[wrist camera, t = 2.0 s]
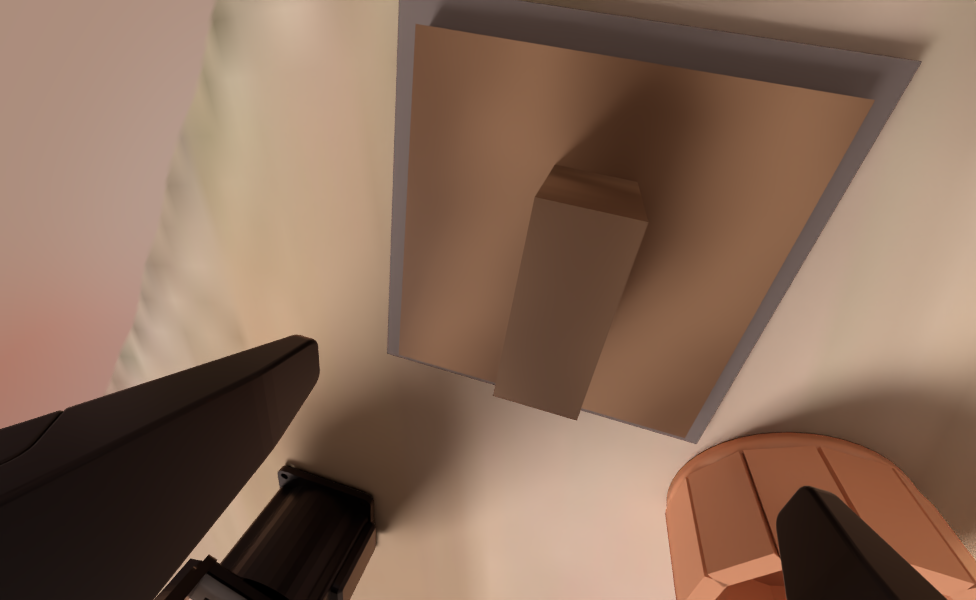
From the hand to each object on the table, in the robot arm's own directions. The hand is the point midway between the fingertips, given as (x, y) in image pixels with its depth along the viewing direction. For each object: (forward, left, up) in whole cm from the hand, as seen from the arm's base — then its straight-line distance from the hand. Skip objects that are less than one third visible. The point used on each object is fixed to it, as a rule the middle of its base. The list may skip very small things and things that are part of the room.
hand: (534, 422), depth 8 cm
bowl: (+12, -10, -9) cm, 18 cm away
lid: (0, 0, -9) cm, 9 cm away
